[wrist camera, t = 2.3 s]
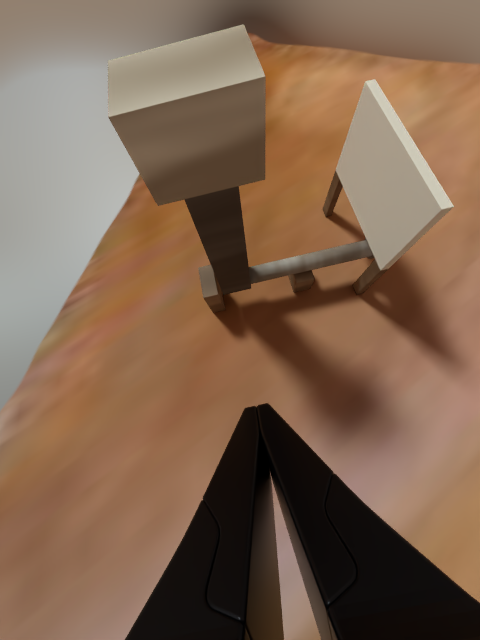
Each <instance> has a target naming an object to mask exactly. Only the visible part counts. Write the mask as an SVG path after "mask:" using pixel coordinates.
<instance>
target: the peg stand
mask: <svg viewBox="0 0 480 640" xmlns="http://www.w3.org/2000/svg"><path fill="white" fill-rule="evenodd" d="M342 187H343V186H342V183H341V181H340V179H339V177H338V174H337V172H336V171H335V174H334V177H333V180H332V183H331V186H330V189H329V192H328V195H327V198H326V201H325V204H324V206H323V211H324V214H325V216H330V215H332V212H333V210H334V207H335V204H336V202H337V199H338V197H339V194H340V192H341V189H342ZM198 269H199V275H200V281H201V287H202V293H203V298H204V299H205V301H206V302H207V304H208V306H209V307H210V309H211V310H212V312H213V313H214V312H219V311H223V310H225V306H224V301H223V296H222V291H221V288H220V286H219V283H218V281H217V278H216V276H215V273H214V271H213V268H212V266H211V265H208V266H203V267H199V268H198ZM387 270H388V269H385V270H381V271H380V268H379V266H378V264H377V262H376V259H375V260H374V261H373V262H372V263H371V265H370V266H369V267H368V268H367V269H366V270H365V271H364V273H363V274H362V275H361V276H360V277H359V278H358V279H357V281H356V282H355V283H354V284H353V287H354V289H355V292H356V295H357V294H361V293H363V292H365V291H366V290H367V289H368V288H369V287H370V286H371V285H372V284H373V283H374V282H375V281H376V280H377V279H378V278H379V277H380V276H381V275H382V274H383V273H385V272H386V271H387ZM288 276H289V279H290V282H291V286H292V289H293V292H297V291H302V290H306V289H310V288H311V286H312V283H313V281H314V276H313V273H312V270H309V271H305V272H301V273H296V274H292V275H288Z"/></svg>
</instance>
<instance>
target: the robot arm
mask: <svg viewBox="0 0 480 640" xmlns="http://www.w3.org/2000/svg"><path fill="white" fill-rule="evenodd" d="M270 473H271V475H270ZM271 477H272V480H273V484H274V487H275V491H276V494H277V497H278V500H279V504H280V507H281V510H282V513H283V517H284V520H285V523H286V526H287V530H288V533H289V536H290V539H291V543H292V546H293V549H294V552H295V556H296V559H297V562H298V565H299V568H300V572H301V575H302V578H303V581H304V585H305V588H306V591H307V594H308V598H309V601H310V604H311V607H312V611H313V614H314V617H315V620H316V624H317V627H318V630H319V633H320V637H321V640H480V603H479V602H478V601H477V600H475V599H474V598H473V597H472V596H470V595H469V594H468V593H467V592H466V591H464V590H463V589H462V588H461V587H460V586H459V585H457V584H456V583H455V582H454V581H453V580H452V579H450V578H449V577H448V576H447V575H446V574H445V573H443V572H442V571H441V570H440V569H439V568H438V567H436V566H435V565H434V564H433V563H432V562H431V561H430V560H428V559H427V558H426V557H425V556H424V555H423V554H421V553H420V552H419V551H418V550H417V549H416V548H415V547H413V546H412V545H411V544H410V543H409V542H408V541H406V540H405V539H404V538H403V537H402V536H401V535H399V534H398V533H397V532H396V531H395V530H394V529H393V528H391V527H390V526H389V525H388V524H387V523H386V522H385V521H383V520H382V519H381V518H380V517H379V516H378V515H377V514H376V513H375V512H373V511H372V510H371V509H370V508H369V507H368V506H367V505H366V504H365V503H364V502H363V501H362V500H361V499H360V498H359V497H358V496H357V495H356V494H355V493H354V492H353V491H352V490H350V489H349V488H348V487H347V486H346V484H345V483H344V482H343V481H342V480H341V479H340V478H339V477H338V476H337V475H336V474H334V473H333V471H332V470H331V469H330V468H329V467H328V466H327V465H326V464H325V463H324V462H323V460H322V459H321V458H320V457H319V456H318V455H317V454H316V453H315V452H314V451H313V450H312V449H311V448H310V447H309V446H308V445H307V444H306V443H305V442H304V440H303V439H302V438H301V437H300V436H299V435H298V434H297V433H296V432H295V431H294V430H293V429H292V428H291V427H290V426H289V425H288V424H287V423H286V422H285V420H284V419H283V418H282V417H281V416H280V415H279V414H278V413H277V412H276V411H275V410H274V409H273V408H272V407H271V406H270V405H269V404H268V403H266V404H261V405H258V406H257V407H256V406H252V407H247V408H245V409H244V411H243V413H242V415H241V417H240V419H239V421H238V424H237V426H236V428H235V430H234V432H233V434H232V436H231V439H230V441H229V443H228V445H227V447H226V449H225V451H224V454H223V456H222V458H221V460H220V462H219V464H218V466H217V468H216V471H215V473H214V475H213V477H212V479H211V481H210V483H209V486H208V488H207V490H206V492H205V494H204V496H203V500H202V501H201V502H200V504H199V507H198V509H197V511H196V513H195V515H194V517H193V519H192V521H191V523H190V525H189V527H188V529H187V531H186V533H185V535H184V537H183V539H182V541H181V543H180V545H179V546H178V548H177V550H176V552H175V554H174V555H173V557H172V559H171V561H170V563H169V564H168V566H167V568H166V570H165V571H164V573H163V575H162V577H161V578H160V580H159V582H158V583H157V585H156V587H155V589H154V590H153V592H152V594H151V596H150V597H149V599H148V601H147V602H146V604H145V606H144V608H143V609H142V611H141V613H140V615H139V616H138V618H137V620H136V621H135V623H134V625H133V627H132V628H131V630H130V632H129V634H128V635H127V637H126V639H125V640H284V633H283V621H282V608H281V596H280V583H279V570H278V558H277V545H276V533H275V520H274V507H273V495H272V483H271Z"/></svg>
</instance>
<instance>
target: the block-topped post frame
mask: <svg viewBox="0 0 480 640" xmlns="http://www.w3.org/2000/svg"><path fill="white" fill-rule="evenodd" d="M108 117H109V119H110V121H111V123H112V125H113V126H114V128H115V130H116V132H117V133H118V135H119V137H120V139H121V141H122V142H123V144H124V146H125V148H126V149H127V151H128V153H129V155H130V156H131V158H132V160H133V162H134V164H135V166H136V167H137V169H138V171H139V173H140V175H141V176H142V178H143V180H144V182H145V184H146V185H147V187H148V189H149V191H150V193H151V194H152V196H153V198H154V200H155V202H156V203H157V205H158V206H159V205H163V204H167V203H171V202H175V201H179V200H184V199H185V202H186V204H187V207H188V209H189V212H190V214H191V217H192V219H193V222H194V224H195V227H196V229H197V231H198V234H199V236H200V239H201V241H202V244H203V246H204V249H205V251H206V254H207V256H208V259H209V261H210V264H211V266H212V268H213V271H214V273H215V276H216V278H217V281H218V283H219V286H220V288H221V291H222V293H223V295H225V294H229V293H233V292H238V291H242V290H246V289H251V284H253V283H257V282H262V281H266V280H270V279H275V278H279V277H283V276H288V275H292V274H296V273H301V272H305V271H309V270H314V269H318V268H322V267H327V266H331V265H335V264H340V263H344V262H348V261H353V260H357V259H361V258H366V257H367V258H369V259H372V258H375V257H374V255H373V253H372V250H371V248H370V246H369V244H368V241H367V239H365V240H364V241H359V242H355V243H351V244H347V245H342V246H338V247H334V248H329V249H325V250H321V251H317V252H312V253H308V254H304V255H299V256H295V257H291V258H287V259H282V260H278V261H274V262H269V263H265V264H261V265H257V266H252V267H248V259H247V251H246V243H245V235H244V226H243V218H242V210H241V202H240V194H239V186H241V185H245V184H249V183H253V182H257V181H261V180H265V74H264V72H263V69H262V67H261V65H260V62H259V60H258V57H257V55H256V53H255V50H254V48H253V46H252V43H251V41H250V38H249V36H248V34H247V31H246V29H245V26H244V25H240V26H236V27H232V28H228V29H225V30H221V31H218V32H214V33H210V34H206V35H202V36H198V37H195V38H191V39H187V40H184V41H180V42H176V43H172V44H169V45H165V46H161V47H157V48H154V49H150V50H147V51H143V52H139V53H135V54H131V55H128V56H124V57H120V58H116V59H113V60H109V61H108Z"/></svg>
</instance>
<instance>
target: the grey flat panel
mask: <svg viewBox="0 0 480 640" xmlns="http://www.w3.org/2000/svg"><path fill="white" fill-rule="evenodd" d="M336 172H337V174H338V177H339V179H340V181H341V183H342V186H343V188H344V190H345V192H346V194H347V197H348V199H349V201H350V203H351V206H352V208H353V210H354V212H355V215H356V217H357V219H358V221H359V224H360V226H361V228H362V230H363V233H364V235H365V237H366V239H367V241H368V244H369V246H370V248H371V250H372V253H373V255H374V257H375V259H376V262H377V264H378V266H379V268H380V271H381V270H385V269H389V268H390V267H391V266H392V265H393V264H394V263H395V262H396V261H397V260H398V259H399V258H400V257H401V256H402V255H403V254H405V253H406V252H407V251H408V250H409V249H410V248H411V247H412V246H413V245H414V244H415V243H416V242H417V241H418V240H419V239H420V238H421V237H422V236H423V235H425V234H426V233H427V232H428V231H429V230H430V229H431V228H432V227H433V226H434V225H435V224H436V223H437V222H438V221H439V220H440V219H441V218H442V217H443V216H445V215H446V214H447V213H448V212H449V211H450V210H451V209H452V208H453V207H454V206H453V204H452V203H451V201H450V199H449V198H448V196H447V195H446V193H445V191H444V190H443V188H442V187H441V185H440V183H439V182H438V180H437V178H436V177H435V175H434V174H433V172H432V170H431V169H430V167H429V166H428V164H427V162H426V161H425V159H424V158H423V156H422V154H421V153H420V151H419V149H418V148H417V146H416V145H415V143H414V141H413V140H412V138H411V137H410V135H409V133H408V132H407V130H406V129H405V127H404V125H403V124H402V122H401V120H400V119H399V117H398V116H397V114H396V112H395V111H394V109H393V108H392V106H391V104H390V103H389V101H388V99H387V98H386V96H385V95H384V93H383V91H382V90H381V88H380V87H379V85H378V83H377V82H376V80H375V79H373V80H370V81H366V82H365V84H364V87H363V90H362V93H361V96H360V99H359V102H358V105H357V108H356V111H355V114H354V117H353V120H352V123H351V126H350V129H349V132H348V135H347V138H346V141H345V144H344V147H343V150H342V153H341V156H340V159H339V162H338V165H337V168H336Z"/></svg>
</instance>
